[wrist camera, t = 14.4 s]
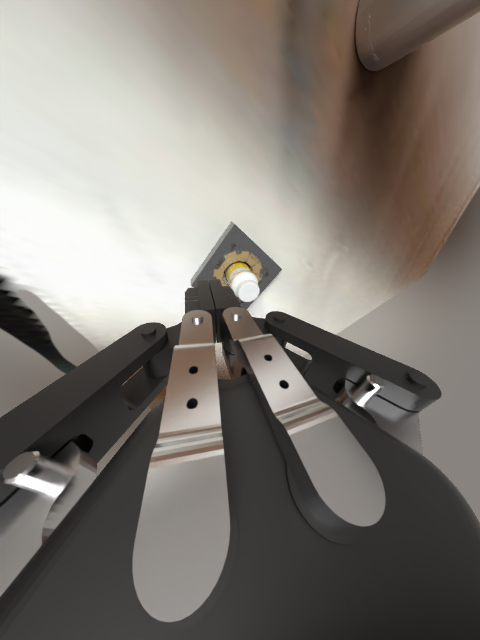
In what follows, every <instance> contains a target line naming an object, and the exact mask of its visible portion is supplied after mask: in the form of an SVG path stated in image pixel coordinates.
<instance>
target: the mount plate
mask: <svg viewBox="0 0 480 640" xmlns="http://www.w3.org/2000/svg"><path fill="white" fill-rule="evenodd" d="M236 261H242V262H247V263H248V264H249V266H250V270H251V271H252V272H253V273H254V275H255V276H256V278H257V280H258V286H259V290H260V291H259V295H260V293H261V292H262V291H263V290H264V289H265V288H266V287H267V286H268V285H269V284H270V282H271V281H272V280H273V279H274V278H275V277H276V276H277V275H278V274H279V272H280V271H281V270H282V269H281V268H280V267H279V266H278V265H277V264H276V263H275V262H274V261H273V260H272V259H271V258H270V257H269V256H268V255H267V254H266V253H264V252H263V251H262V250H261V249H260V248H259V247H258V246H257V245H256V244H255V243H254V242H253V241H252V240H251V239H250V238H249V237H248V236H247V235H246V234H245V233H244V232H242V231H241V230H240V229H239V228H238V227H237V226H236V225H235V224H234V223H233V222H231V223H230V225H229V226H228V227H227V229H226V230H225V232H224V233H223V235H222V236H221V238H220V239H219V240H218V242H217V243H216V245H215V246H214V248H213V249H212V250H211V252H210V253H209V255H208V256H207V258H206V259H205V261H204V262H203V263H202V265H201V266H200V268H199V269H198V271H197V272H196V273H195V275H194V276H193V278H192V279H191V286H193V287H195V288H197V284H196V280H211V279H220V281H221V284H222V286H229V285H228V284H226V283H225V282H224V281H223V274H224V271H225V269H226V268H227V267H228V266H229V264H232V263H234V262H236ZM229 287H230V286H229ZM230 288H231V287H230ZM259 295H258V296H259ZM236 298H237V299H238V302H239V304H240V306H241V308H243V309H245V310H246V309H247V308H248V307H249V306H250V305H251V303H252V302H253V301H254V300H253V301H251V302H244V301H242V300H241V299H240V298H239V297H237V296H236Z"/></svg>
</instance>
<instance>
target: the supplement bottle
mask: <svg viewBox="0 0 480 640" xmlns="http://www.w3.org/2000/svg"><path fill="white" fill-rule="evenodd" d="M225 276H226V279H227V281H228V283H229V285H230V287H231V289H233V291H234V293H235V295H236V296H237V297H239V298H240V299H241V300H242V301H244V302H251V301H253V300H255V299H256V298H257V297H258V295H259V291H260V290H259V286H258V280H257V278H256V276H255V275H254V273H253V272H252V271H251V270H250V268H249V267H248V266H247V265H246V264H245V263H244V262H242V261H236V262H234V263H232V264H229V266H228V267H227V268H226V270H225Z"/></svg>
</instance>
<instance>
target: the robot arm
mask: <svg viewBox="0 0 480 640" xmlns="http://www.w3.org/2000/svg"><path fill="white" fill-rule="evenodd" d="M478 12H480V0H360V1H359V6H358V12H357V18H356V47H357V52H358V56H359V58H360V61H361V63H362V64H363V66H364V67H365V68H367V69H368V70H370V71H378V70H382V69H383V68H385V67H387V66H388V65H390V64H392V63H394V62H395V61H397V60H399V59H400V58H402V57H404V56H405V55H407V54H409V53H411V52H413V51H414V50H416V49H418V48H419V47H421V46H423V45H424V44H426V43H428V42H429V41H431V40H433V39H435V38H436V37H438V36H440V35H441V34H443V33H445V32H446V31H448V30H450V29H451V28H453V27H455V26H456V25H458V24H460V23H462V22H463V21H465V20H467V19H468V18H470V17H472V16H473V15H475V14H477V13H478ZM196 284H197V288H188V289H187V290H186V292H185V315H184V316H183V318H182V322H181V323H179V324H178V325H175V326H173V327H170V328H166V327H165V326H164V325H163V324H160V323H154V322H153V323H146V324H143V325H140V326H138V327H137V328H135V329H134V330H132V331H131V332H129V333H128V334H126V335H125V336H123V337H122V338H120V339H119V340H117V341H115V342H114V343H112V344H111V345H109V346H108V347H106V348H105V349H103V350H102V351H100V352H99V353H97V354H96V355H95V356H93V357H91V358H90V359H88V360H87V361H85V362H84V363H82V364H81V365H80V366H78V367H76V368H75V369H73V370H72V371H70V372H69V373H67V374H66V375H64V376H63V377H61V378H60V379H58V380H56V381H55V382H53V383H52V384H50V385H49V386H47V387H46V388H44V389H43V390H41V391H40V392H38V393H37V394H35V395H34V396H32V397H31V398H29V399H28V400H26V401H25V402H23V403H22V404H20V405H19V406H17V407H16V408H14V409H13V410H11V411H10V412H8V413H7V414H5V415H4V416H2V417H1V418H0V640H480V523H479V521H478V519H477V517H476V516H475V514H474V512H473V510H472V509H471V507H470V506H469V504H468V503H467V501H466V500H465V498H464V497H463V496H462V494H461V493H460V492H459V491H458V489H457V488H456V487H455V486H454V484H453V483H452V482H451V481H450V480H449V479H448V478H447V477H446V476H445V475H444V474H443V473H442V472H441V470H439V469H438V468H437V467H436V466H435V465H434V464H433V463H432V462H430V461H429V460H428V459H427V458H425V457H424V456H423V454H422V444H421V434H420V424H419V415H418V414H419V412H420V411H421V410H423V409H424V408H426V407H427V406H429V405H430V404H432V403H433V402H435V401H436V400H437V399H439V398H440V397H441V391H440V389H439V387H438V386H437V384H436V383H435V382H434V381H433V380H432V379H430V378H429V377H428V376H426V375H425V374H423V373H422V372H420V371H418V370H416V369H414V368H411V367H409V366H407V365H404V364H402V363H400V362H397V361H395V360H393V359H390V358H388V357H386V356H383V355H381V354H379V353H376V352H374V351H371V350H369V349H367V348H365V347H362V346H360V345H358V344H355V343H353V342H351V341H348V340H346V339H344V338H341V337H339V336H337V335H334V334H332V333H330V332H327V331H325V330H323V329H321V328H318V327H316V326H314V325H311V324H309V323H307V322H304V321H302V320H300V319H297V318H295V317H293V316H290V315H288V314H286V313H283V312H278V311H274V312H270V313H268V314H267V315H266V318H265V319H262V318H254V317H251V315H250V314H249V312H248V311H247V310H245V309H243V308H241V306H240V304H239V302H238V299H237V298H236V295H235V293H234V291H233V289H231V288H230V287H229V286H222V284H221V281H220V279H211V280H196ZM216 340H217V343H219V342H222V353H223V356H224V359H225V362H226V365H227V368H228V371H229V374H230V377H231V380H220V379H217V368H216V356H215V345H214V343H216ZM287 342H288V343H290V344H292V345H294V346H296V347H298V348H300V349H302V350H304V351H306V352H308V353H309V354H310V355H311V357H312V360H307V359H305V358H303V357H301V356H300V355H298V354H296V353H294V352H292V351H290V350H288V349H286V348H285V346H286V343H287ZM142 366H143V368H142V369H140V370H139V371H138V372H137V373H136V374H135V375H134V376H133V377H131V378H130V379H129V380H128V381H127V382H126V383H125V384H124V385H123V386H122V384H123V383H124V382H125V381H126V380H127V379H128V378H129V377H130V376H132V375H133V374H134V373H135V372H136V371H137V370H138V369H139V368H141V367H142ZM167 384H168V385H167ZM166 385H167V390H166V396H165V400H163V401H162V402H160V403H159V404H158V405H157V406H156V407H154V408H153V409H152V410H151V412H149V414H148V415H147V416H146V417H145V418H144V420H143V421H142V422H141V423H140V424H139V426H138V427H137V428H136V429H135V431H134V432H133V433H132V435H131V436H130V437H129V438H128V439H127V441H126V442H125V443H124V444H123V446H122V447H121V448H120V449H119V451H118V452H117V453H116V454H115V455H114V457H113V458H112V459H111V460H110V462H109V463H108V464H107V465H106V467H105V468H104V469H103V470H102V472H101V473H100V474H99V475H98V476H97V478H96V479H95V477H96V473H97V463H98V462H99V461H100V459H102V457H103V456H104V455H105V454H106V453H107V452H108V451H109V449H110V448H111V447H112V446H113V445H114V444H115V443H116V442H117V440H118V439H119V438H120V437H121V436H122V435H123V434H124V433H125V431H126V430H127V429H128V428H129V427H130V426H131V424H132V423H133V422H134V421H135V420H136V419H137V418H138V417H139V416H140V414H141V413H142V412H143V411H144V410H145V409H146V408H147V406H148V405H149V404H150V403H151V402H152V401H153V400H154V399H155V397H156V396H157V395H158V394H159V393H160V392H161V391H162V390H163V388H164V387H165V386H166Z"/></svg>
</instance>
